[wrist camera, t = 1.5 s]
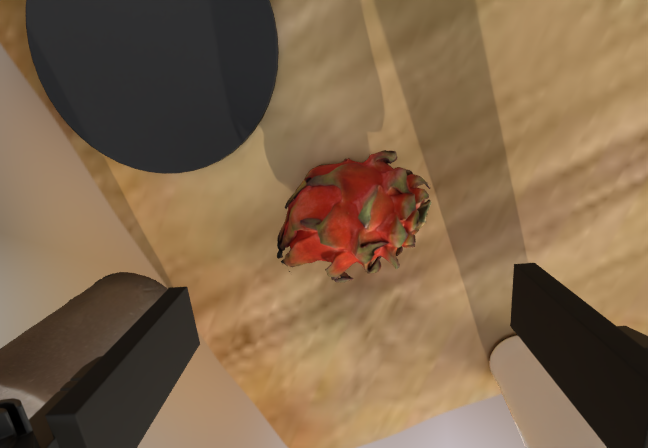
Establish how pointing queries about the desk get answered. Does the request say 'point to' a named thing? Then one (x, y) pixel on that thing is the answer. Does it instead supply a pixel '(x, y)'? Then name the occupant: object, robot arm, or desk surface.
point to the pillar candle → (73, 337)
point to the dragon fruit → (353, 215)
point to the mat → (157, 75)
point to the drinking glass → (538, 400)
